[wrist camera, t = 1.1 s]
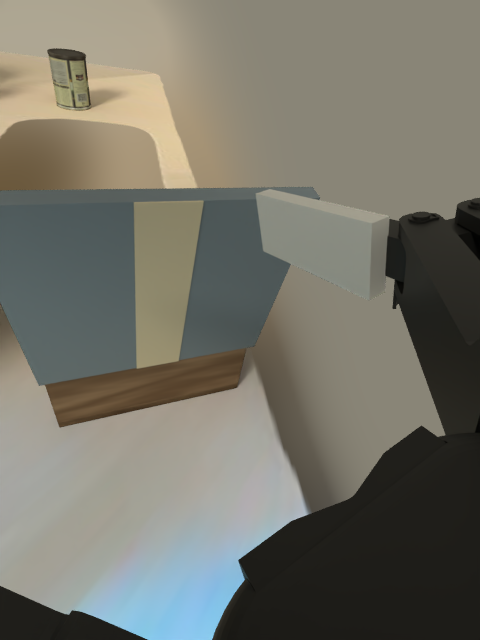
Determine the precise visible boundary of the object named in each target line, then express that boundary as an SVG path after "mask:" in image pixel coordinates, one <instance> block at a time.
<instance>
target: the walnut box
mask: <svg viewBox="0 0 480 640" xmlns="http://www.w3.org/2000/svg"><path fill="white" fill-rule="evenodd" d="M245 351H246V348H243V349H237V350H232V351H226V352H221V353H215V354H210V355H204V356H199V357H193V358H188V359H183V360H179V361H177V362H171V363H166V364H160V365H155V366H149V367H144V368H138V369H137V368H133V369H128V370H122V371H117V372H111V373H106V374H101V375H95V376H90V377H84V378H79V379H73V380H68V381H62V382H57V383H51V384H46V385H45V386H46V389H47V392H48V395H49V398H50V401H51V404H52V407H53V410H54V412H55V415H56V418H57V421H58V424H59V427H64V426H68V425H73V424H77V423H82V422H86V421H91V420H95V419H100V418H104V417H109V416H113V415H117V414H122V413H126V412H131V411H135V410H140V409H144V408H149V407H153V406H158V405H162V404H167V403H171V402H176V401H180V400H185V399H189V398H193V397H198V396H202V395H207V394H211V393H216V392H220V391H225V390H229V389H234V388H237V385H238V381H239V376H240V372H241V368H242V364H243V360H244V356H245Z"/></svg>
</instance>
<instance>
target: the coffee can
mask: <svg viewBox="0 0 480 640" xmlns="http://www.w3.org/2000/svg"><path fill="white" fill-rule="evenodd" d="M48 54H49V61H50V66H51V72H52V78H53V84H54V90H55V95H56V101H57V106H59V107H61V108H64V109H69V110H87V109H90V108H91V103H90V94H89V86H88V77H87V68H86V60H85V58H86V55H85V54H84V53H82V52H79V51H75V50H68V49H49V50H48Z"/></svg>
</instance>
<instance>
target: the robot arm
mask: <svg viewBox="0 0 480 640" xmlns="http://www.w3.org/2000/svg"><path fill="white" fill-rule="evenodd" d="M256 201H257V208H258V215H259V223H260V230H261V238H262V245H263V251H264V252H266V253H268V254H271V255H273V256H275V257H277V258H279V259H281V260H283V261H286V262H288V263H290V264H292V265H294V266H296V267H298V268H301V269H303V270H305V271H307V272H309V273H311V274H313V275H316V276H318V277H320V278H322V279H324V280H326V281H328V282H331V283H333V284H335V285H337V286H339V287H341V288H344V289H346V290H348V291H350V292H352V293H354V294H356V295H358V296H361V297H363V298H365V299H367V300H371V299H373V298H375V297H377V296H379V295H381V294H383V293H385V283H386V282H385V281H386V276H388V277H390V278H393V279H395V284H394V297H393V309H396V305H397V304H399V305H400V308H401V311H402V314H403V317H404V320H405V322H406V325H407V328H408V331H409V334H410V336H411V339H412V342H413V345H414V348H415V350H416V353H417V356H418V359H419V362H420V364H421V367H422V370H423V373H424V376H425V378H426V381H427V384H428V386H429V390H430V392H431V395H432V398H433V401H434V404H435V406H436V409H437V412H438V415H439V418H440V420H441V423H442V426H443V429H444V431H445V434H446V435H445V436H440V437H437V436H435V435H434V434H433V433H431V432H430V431H428V430H427V429H426V428H424V427H423V426H420V427H419V428H417V429H416V430H415V431H413V432H412V433H411V434H409V435H408V436H407V437H406V438H404V439H403V440H401V441H400V442H398V443H397V444H396V445H394V446H393V447H392V448H390V449H389V450H388V451H386V452H385V453H384V454H383V455H382V457H381V458H380V459H379V461H378V462H377V464H376V465H375V467H374V468H373V470H372V471H371V472H370V474H369V475H368V477H367V478H366V479H365V481H364V482H363V484H362V485H361V487H360V488H359V489H358V491H357V492H356V494H355V495H354V496H353V497H351V498H350V499H348V500H346V501H343V502H341V503H338V504H335V505H333V506H330V507H327V508H325V509H322V510H319V511H317V512H314V513H312V514H309V515H306V516H304V517H301V518H298V519H296V520H293V521H291V522H290V523H288V524H287V525H286V526H284V527H283V528H281V529H280V530H279V531H277V532H276V533H275V534H273V535H272V536H271V537H269V538H268V539H267V540H265V541H264V542H262V543H261V544H260V545H258V546H257V547H256V548H254V549H253V550H252V551H250V552H249V553H247V554H246V555H245V556H243V557H242V558H241V559H239V560H238V561H239V564H240V567H241V570H242V573H243V576H244V578H245V580H244V582H243V583H242V584H241V586H240V587H239V588H238V590H237V591H236V592H235V594H234V595H233V597H232V599H231V601H230V602H229V604H228V606H227V607H226V609H225V611H224V613H223V615H222V617H221V619H220V621H219V624H218V626H217V628H216V630H215V633H214V636H213V639H212V640H480V198H475V199H472V200H467V201H464V202H461V203H459V204H458V205H457V210H456V217H455V218H453V219H449V220H445V219H443V217H441V216H440V215H438V214H436V213H428V212H416V213H414V214H408V215H405V216H402V217H401V218H400V219H399V221H396V220H392V219H389V218H390V217H389V216H387V215H383V214H378V213H374V212H369V211H365V210H360V209H356V208H352V207H347V206H342V205H338V204H334V203H330V202H325V201H320V200H316V199H312V198H307V197H303V196H299V195H294V194H290V193H285V192H281V191H276V190H272V189H268V190H265V191H262V192H259V193H256ZM0 640H147V639H145V638H143V637H140V636H138V635H136V634H133V633H131V632H129V631H126V630H124V629H122V628H119V627H117V626H115V625H112V624H110V623H108V622H105V621H103V620H101V619H99V618H96V617H94V616H91V615H88V614H86V613H83V612H79V611H71V613H70V614H69V615H67V614H63V613H60V612H58V611H55V610H53V609H51V608H48V607H46V606H44V605H42V604H40V603H37V602H35V601H33V600H31V599H28V598H26V597H24V596H22V595H19V594H17V593H15V592H13V591H10V590H8V589H6V588H4V587H1V586H0Z"/></svg>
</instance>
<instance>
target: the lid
mask: <svg viewBox="0 0 480 640" xmlns="http://www.w3.org/2000/svg"><path fill="white" fill-rule="evenodd" d="M268 189H272V190H276V191H281V192H285V193H290V194H294V195H299V196H303V197H307V198H312V199H316V200H319V199H320V197H319V195H318V194H317V193H316V191H315V190H314V188H313V187H274V188H184V189H101V190H100V189H97V190H13V191H12V190H10V191H9V190H8V191H0V303H1V305H2V308H3V310H4V312H5V314H6V316H7V318H8V320H9V323H10V325H11V327H12V329H13V331H14V333H15V335H16V337H17V340H18V342H19V344H20V346H21V348H22V350H23V352H24V355H25V357H26V359H27V361H28V363H29V365H30V367H31V370H32V372H33V374H34V376H35V378H36V380H37V382H38V384H39V386H40V385H46V384H51V383H57V382H62V381H68V380H73V379H79V378H84V377H90V376H95V375H101V374H106V373H111V372H117V371H122V370H128V369H133V368H137V369H138V368H144V367H149V366H155V365H160V364H166V363H171V362H177V361H179V360H183V359H188V358H193V357H199V356H204V355H210V354H215V353H221V352H226V351H232V350H237V349H243V348H248V347H254V346H255V343H256V341H257V339H258V337H259V335H260V333H261V330H262V328H263V326H264V323H265V321H266V319H267V317H268V314H269V312H270V310H271V308H272V305H273V303H274V301H275V299H276V296H277V294H278V292H279V290H280V287H281V285H282V283H283V281H284V278H285V276H286V274H287V272H288V269H289V267H290V265H291V264H290V263H288V262H286V261H283V260H281V259H279V258H277V257H275V256H273V255H271V254H268V253H266V252H264V251H263V245H262V238H261V230H260V223H259V215H258V208H257V201H256V193H259V192H262V191H265V190H268Z"/></svg>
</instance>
